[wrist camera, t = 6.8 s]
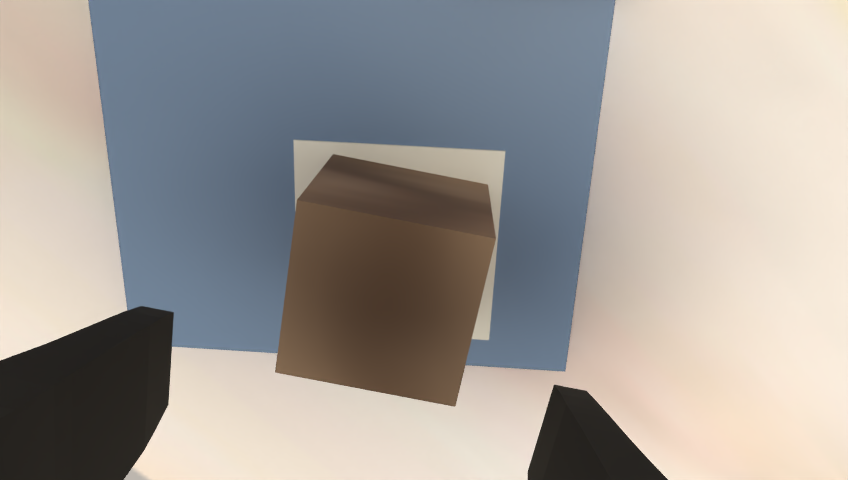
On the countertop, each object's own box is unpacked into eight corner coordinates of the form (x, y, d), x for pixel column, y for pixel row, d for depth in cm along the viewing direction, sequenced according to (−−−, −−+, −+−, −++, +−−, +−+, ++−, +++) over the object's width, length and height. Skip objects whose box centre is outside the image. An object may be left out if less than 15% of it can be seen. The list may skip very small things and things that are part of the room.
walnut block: (313, 294, 20) (275, 372, 16) (333, 153, 19) (297, 199, 15) (456, 321, 21) (455, 406, 16) (487, 184, 19) (495, 239, 15)
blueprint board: (64, -331, 16) (41, -349, 15) (649, -313, 16) (660, -331, 15) (142, 332, 22) (130, 345, 21) (561, 358, 22) (565, 373, 21)
